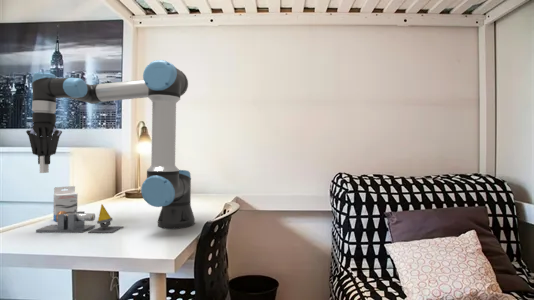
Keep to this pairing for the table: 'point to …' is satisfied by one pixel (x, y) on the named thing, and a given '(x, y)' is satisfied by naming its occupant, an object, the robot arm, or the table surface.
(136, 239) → the table surface
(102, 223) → the yellow cone
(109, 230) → the seat pad
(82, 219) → the shaft
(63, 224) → the grey vise
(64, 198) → the ink box
